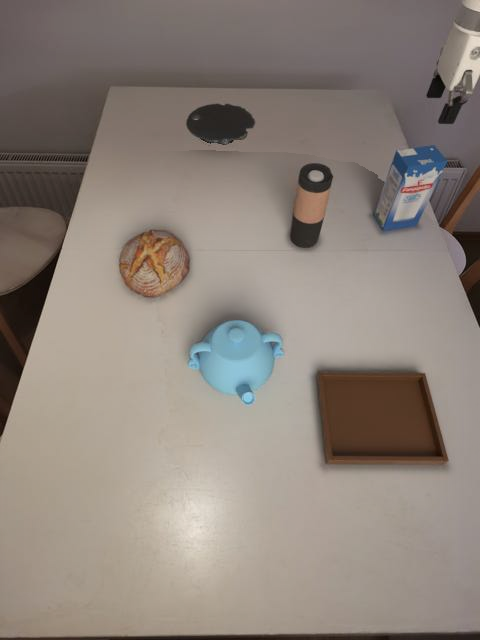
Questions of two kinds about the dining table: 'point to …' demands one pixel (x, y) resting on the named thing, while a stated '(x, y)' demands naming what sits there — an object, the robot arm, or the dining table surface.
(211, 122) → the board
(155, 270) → the bread
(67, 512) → the dining table surface
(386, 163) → the dining table surface
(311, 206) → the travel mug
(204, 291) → the dining table surface
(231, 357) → the teapot
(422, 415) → the tray
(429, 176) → the milk carton
